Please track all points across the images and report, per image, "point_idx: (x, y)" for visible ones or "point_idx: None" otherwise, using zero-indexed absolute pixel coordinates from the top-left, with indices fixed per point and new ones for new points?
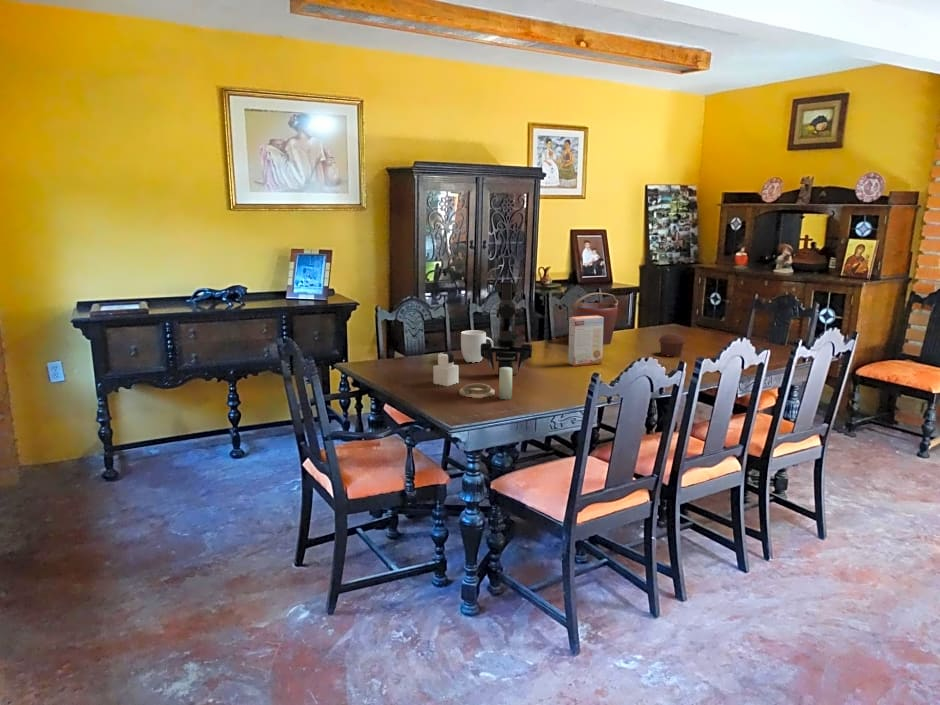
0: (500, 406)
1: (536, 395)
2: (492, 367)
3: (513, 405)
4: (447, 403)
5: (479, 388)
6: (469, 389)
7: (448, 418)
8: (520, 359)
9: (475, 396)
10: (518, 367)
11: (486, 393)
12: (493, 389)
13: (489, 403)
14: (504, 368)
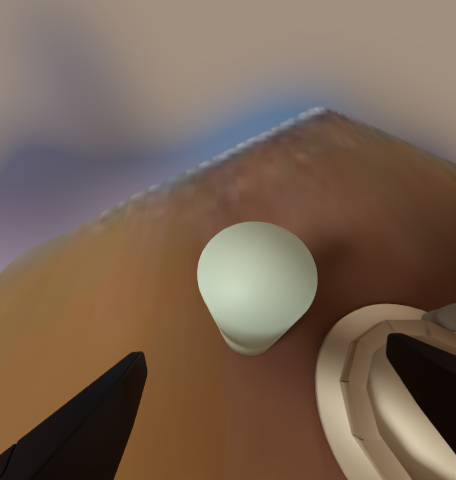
0: None
1: None
2: (412, 337)
3: None
4: (438, 227)
5: (442, 475)
6: (439, 313)
7: (355, 134)
8: (11, 467)
9: (380, 305)
10: (130, 362)
11: (347, 345)
12: (341, 455)
13: None
14: (268, 265)
